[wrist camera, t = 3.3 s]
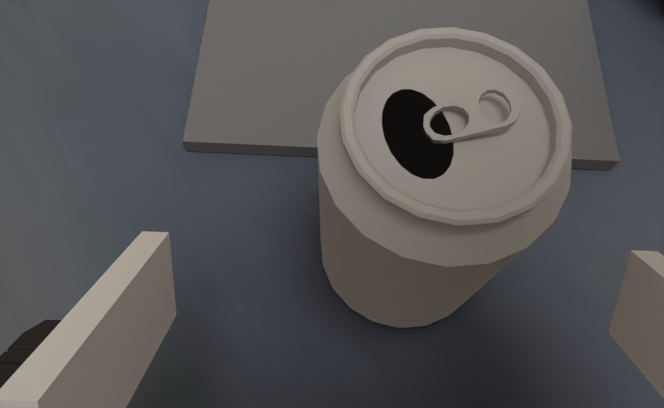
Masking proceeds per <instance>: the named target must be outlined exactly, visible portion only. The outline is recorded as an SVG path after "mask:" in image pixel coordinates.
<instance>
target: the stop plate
mask: <svg viewBox="0 0 664 408" xmlns="http://www.w3.org/2000/svg"><path fill="white" fill-rule="evenodd" d="M445 27H455V28H460V29H466V30H471V31H477V32H482V33H486V34H489V35H491V36H493V37H495V38H498V39H500V40H502V41H504V42H507V43H509V44H511V45H513V46H516V47H517V48H519V49H520V50H521V51H522V52H524V53H525V54H526V55H528V56H529V57H530V58H531V59H533V60H534V61H535V62H536V63H538V64H539V65H540V66H541V67H543V68H544V70H545V71H546V72H547V74H548V75H549V77H550V78H551V79H552V81H553V82H554V83H555V85H556V86H557V88H558V89H559V90H560V92H561V93H562V94H563V97H564V100H565V104H566V107H567V110H568V113H569V116H570V119H571V122H572V143H571V151H572V163H571V169H593V170H611V169H612V168H613V167H614V166H615V165H616V164H618V163H619V162H620V157H619V152H618V147H617V142H616V138H615V133H614V128H613V123H612V118H611V113H610V108H609V104H608V99H607V94H606V89H605V84H604V79H603V74H602V70H601V65H600V60H599V55H598V50H597V45H596V40H595V36H594V31H593V26H592V21H591V16H590V11H589V6H588V2H587V0H209V5H208V11H207V16H206V21H205V26H204V32H203V37H202V42H201V47H200V53H199V58H198V63H197V69H196V74H195V79H194V84H193V90H192V95H191V100H190V105H189V111H188V116H187V121H186V126H185V132H184V137H183V143H184V145H185V147H186V149H187V151H194V152H217V153H239V154H261V155H283V156H305V157H318V151H317V134H318V130H319V127H320V123H321V120H322V116H323V113H324V109H325V106H326V103H327V102H328V100H329V99H330V98H331V96H332V95H333V93H334V92H335V91H336V89H337V88H338V87H339V85H340V84H341V82H342V81H343V80H344V78H345V77H346V76H347V75H349V74H350V73H352V72H353V71H354V70H355V69H356V67H357V66H358V65H359V63H360V62H361V60H362V59H363V58H364V56H366V55H367V54H369V53H370V52H372V51H373V50H374V49H376V48H377V47H379V46H380V45H382V44H383V43H384V42H386V41H387V40H389V39H391V38H394V37H397V36H400V35H403V34H406V33H409V32H412V31H415V30H418V29H429V28H445Z"/></svg>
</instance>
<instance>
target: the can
mask: <svg viewBox="0 0 664 408" xmlns="http://www.w3.org/2000/svg"><path fill="white" fill-rule="evenodd" d="M571 143H572V122H571V119H570V116H569V113H568V110H567V107H566V104H565V100H564V97H563V94H562V93H561V92H560V90H559V89H558V88H557V86H556V85H555V83H554V82H553V81H552V79H551V78H550V77H549V75H548V74H547V72H546V71H545V70H544V68H543V67H541V66H540V65H539V64H538V63H536V62H535V61H534V60H533V59H531V58H530V57H529V56H528V55H526V54H525V53H524V52H522V51H521V50H520V49H519V48H517V47H516V46H513V45H511V44H509V43H507V42H504V41H502V40H500V39H498V38H495V37H493V36H491V35H489V34H486V33H482V32H477V31H471V30H466V29H460V28H455V27H445V28H429V29H418V30H415V31H412V32H409V33H406V34H403V35H400V36H397V37H394V38H391V39H389V40H387V41H386V42H384V43H383V44H382V45H380V46H379V47H377V48H376V49H374V50H373V51H372V52H370V53H369V54H367V55H366V56H364V58H363V59H362V60H361V62H360V63H359V65H358V66H357V67H356V69H355V70H354V71H353V72H352V73H350V74H349V75H347V76H346V77H345V78H344V80H343V81H342V82H341V84H340V85H339V87H338V88H337V89H336V91H335V92H334V93H333V95H332V96H331V98H330V99H329V100H328V102H327V103H326V106H325V109H324V113H323V116H322V120H321V123H320V127H319V130H318V134H317V151H318V179H319V207H320V236H321V251H322V263H323V267H324V269H325V272H326V274H327V276H328V279H329V281H330V283H331V286H332V288H333V289H334V290H335V292H336V293H337V294H338V295H339V296H340V297H341V298H342V299H343V301H344V302H345V303H346V304H347V305H348V306H349V307H350V308H351V309H353V310H354V311H356V312H358V313H359V314H361V315H362V316H364V317H366V318H367V319H369V320H371V321H372V322H376V323H380V324H384V325H389V326H393V327H397V328H405V327H417V326H426V325H429V324H431V323H433V322H436V321H438V320H440V319H442V318H445V317H447V316H449V315H451V314H452V313H453V312H454V311H455V310H456V309H457V308H459V307H460V306H461V305H462V304H463V303H464V302H465V301H467V300H468V299H469V298H470V297H471V296H472V295H473V294H475V293H476V292H477V291H478V290H479V289H480V288H481V287H483V286H484V285H485V284H486V283H487V282H488V281H489V280H491V279H492V278H493V277H494V276H495V275H496V274H498V273H499V272H500V271H501V270H502V269H503V268H504V267H506V266H507V265H508V264H509V263H510V262H511V261H512V260H514V259H515V258H516V257H517V256H518V255H519V254H520V253H522V252H523V251H524V250H525V249H526V248H527V247H528V246H529V245H530V244H532V243H533V242H534V241H535V240H536V239H537V238H538V237H539V236H540V235H541V234H542V233H543V232H544V231H545V230H546V229H547V228H548V227H549V226H550V225H552V224H553V223H554V222H555V220H556V218H557V216H558V214H559V212H560V209H561V207H562V205H563V203H564V201H565V199H566V196H567V194H568V192H569V190H570V183H571V163H572V151H571Z"/></svg>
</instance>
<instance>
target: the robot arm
mask: <svg viewBox="0 0 664 408" xmlns="http://www.w3.org/2000/svg"><path fill="white" fill-rule="evenodd" d="M175 317H176V304H175V293H174V282H173V271H172V260H171V249H170V238H169V232H145V231H142V232H141V233H140V234H139V236H138V237H137V238H136V239H135V240H134V241H133V242H132V243H131V244H130V245H129V247H128V248H127V249H126V250H125V251H124V252H123V253H122V254H121V255H120V257H119V258H118V259H117V260H116V261H115V262H114V263H113V264H112V265H111V267H110V268H109V269H108V270H107V271H106V272H105V273H104V274H103V275H102V276H101V278H100V279H99V280H98V281H97V282H96V283H95V284H94V285H93V286H92V288H91V289H90V290H89V291H88V292H87V293H86V294H85V295H84V296H83V298H82V299H81V300H80V301H79V302H78V303H77V304H76V305H75V306H74V307H73V309H72V310H71V311H70V312H69V313H68V314H67V315H66V316H65V317H64V319H63V320H45V321H43V322H41V323H39V324H38V325H36V326H34V327H33V328H31V329H29V330H28V331H26V332H24V333H23V334H22V335H21V336H20V337H19V338H18V339H17V340H16V341H15V342H14V343H13V344H12V345H11V346H10V347H9V348H8V351H7V352H4V353H3V354H2V355H1V356H0V408H126V407H127V405H128V404H129V402H130V400H131V398H132V396H133V394H134V392H135V391H136V389H137V387H138V385H139V383H140V381H141V380H142V378H143V376H144V374H145V372H146V370H147V368H148V367H149V365H150V363H151V361H152V359H153V357H154V356H155V354H156V352H157V350H158V348H159V346H160V344H161V343H162V341H163V339H164V337H165V335H166V333H167V332H168V330H169V328H170V326H171V324H172V322H173V321H174V319H175ZM608 332H609V334H610V335H611V336H612V337H613V338H614V340H615V341H616V342H617V343H618V344H619V346H620V347H621V348H622V349H623V351H624V352H625V353H626V354H627V355H628V357H629V358H630V359H631V360H632V361H633V363H634V364H635V365H636V366H637V367H638V369H639V370H640V371H641V372H642V373H643V375H644V376H645V377H646V378H647V379H648V381H649V382H650V383H651V384H652V385H653V387H654V388H655V389H656V390H657V391H658V393H659V394H660V395H661V396H662V397H663V399H664V256H663V255H662V254H661V253H659V252H658V251H637V250H631V251H630V254H629V258H628V262H627V265H626V269H625V273H624V276H623V280H622V283H621V287H620V291H619V294H618V298H617V302H616V305H615V309H614V312H613V316H612V320H611V323H610V327H609V331H608Z"/></svg>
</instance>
